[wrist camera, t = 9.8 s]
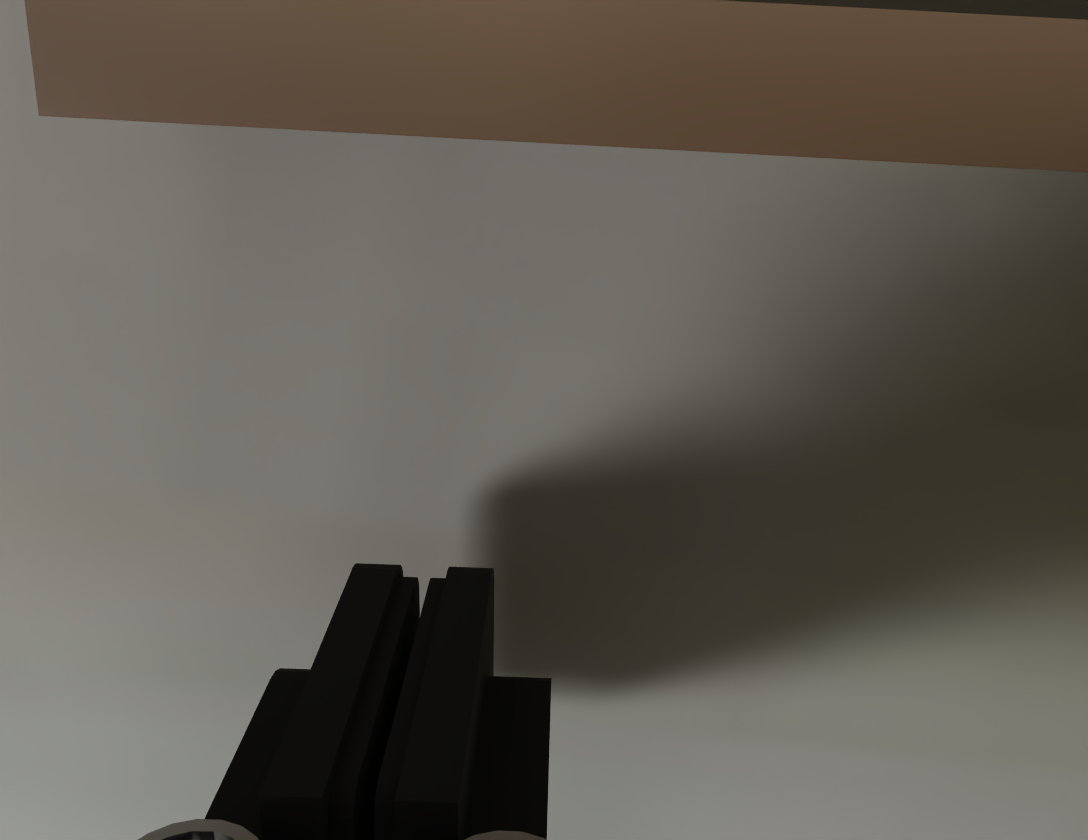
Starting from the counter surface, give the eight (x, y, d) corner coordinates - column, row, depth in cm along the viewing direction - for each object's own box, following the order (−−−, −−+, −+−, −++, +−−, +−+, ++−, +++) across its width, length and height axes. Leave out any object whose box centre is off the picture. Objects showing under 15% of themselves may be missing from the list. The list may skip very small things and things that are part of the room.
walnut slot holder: (143, -18, 10) (20, -36, 8) (1281, 42, 10) (1487, 41, 8) (231, 1028, 16) (173, 1198, 14) (981, 1073, 16) (1051, 1250, 13)
